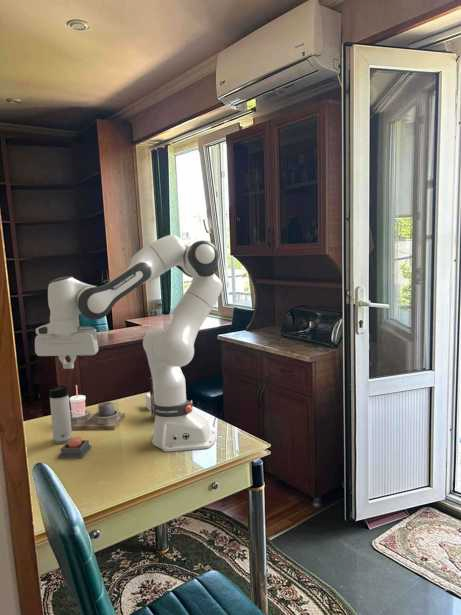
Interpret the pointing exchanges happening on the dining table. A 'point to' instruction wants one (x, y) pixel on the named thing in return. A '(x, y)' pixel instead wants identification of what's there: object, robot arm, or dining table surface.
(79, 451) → the button housing
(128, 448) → the dining table surface
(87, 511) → the dining table surface
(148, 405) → the adhesive note
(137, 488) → the dining table surface
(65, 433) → the travel mug
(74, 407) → the beverage cup
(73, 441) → the button
